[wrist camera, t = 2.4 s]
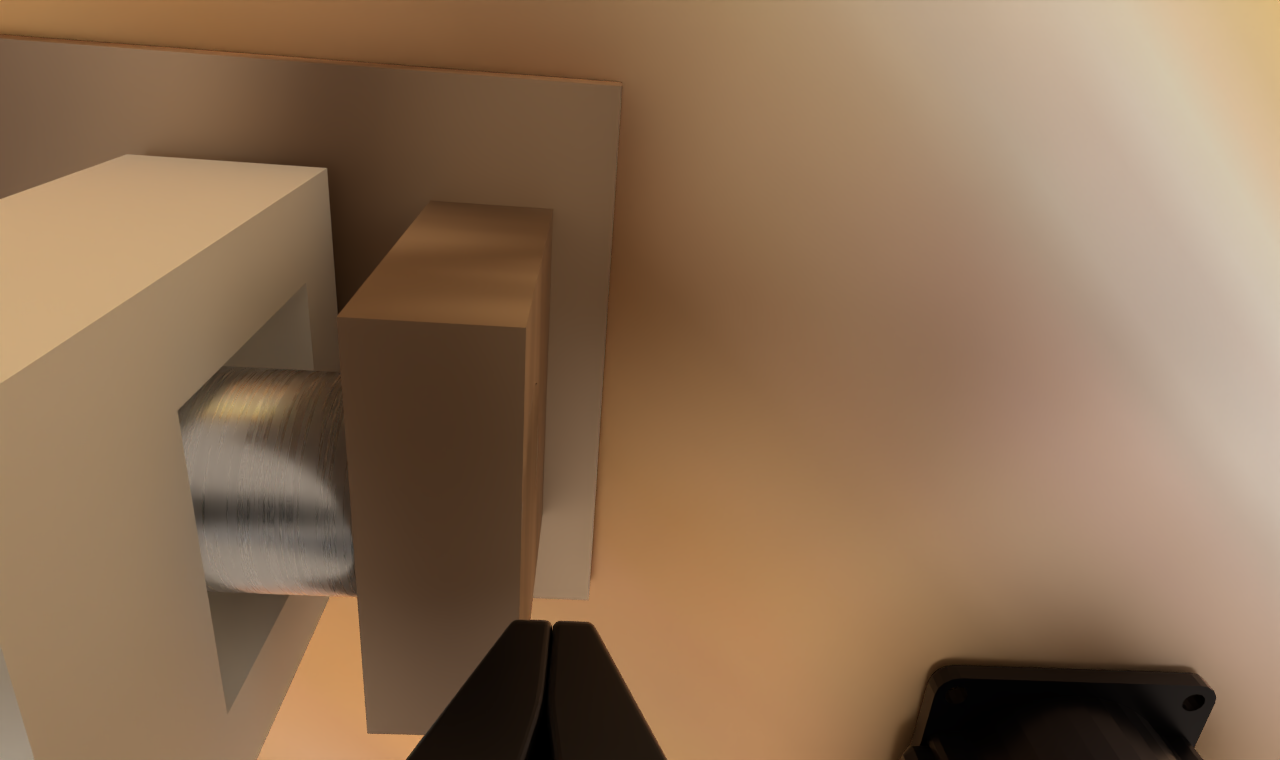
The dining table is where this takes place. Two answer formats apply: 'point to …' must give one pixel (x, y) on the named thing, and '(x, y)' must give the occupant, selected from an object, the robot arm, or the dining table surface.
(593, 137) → the wall mounted rod holder
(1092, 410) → the dining table surface
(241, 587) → the pipe
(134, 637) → the collar
